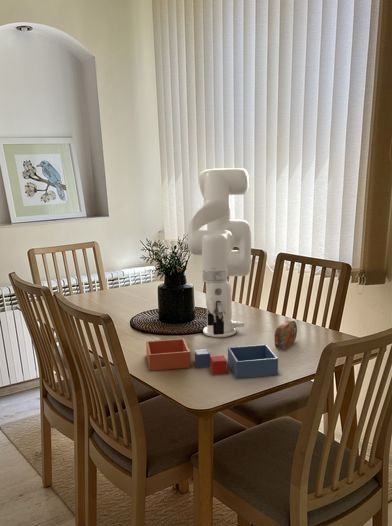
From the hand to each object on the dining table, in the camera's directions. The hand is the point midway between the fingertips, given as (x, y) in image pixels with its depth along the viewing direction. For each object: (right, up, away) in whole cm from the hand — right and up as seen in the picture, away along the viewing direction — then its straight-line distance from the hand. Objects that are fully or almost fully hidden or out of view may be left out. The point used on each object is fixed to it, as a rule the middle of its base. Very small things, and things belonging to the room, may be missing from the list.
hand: (215, 329), depth 171 cm
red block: (+1, -13, +4) cm, 14 cm away
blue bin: (+12, -12, +6) cm, 18 cm away
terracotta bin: (-16, -10, +13) cm, 23 cm away
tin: (+26, -5, +25) cm, 36 cm away
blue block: (-4, -11, +10) cm, 16 cm away
